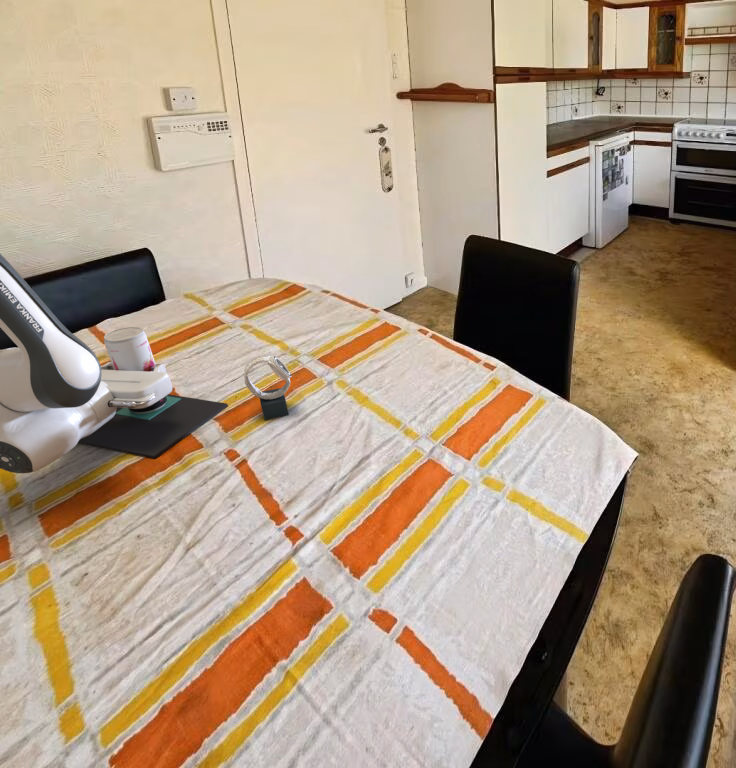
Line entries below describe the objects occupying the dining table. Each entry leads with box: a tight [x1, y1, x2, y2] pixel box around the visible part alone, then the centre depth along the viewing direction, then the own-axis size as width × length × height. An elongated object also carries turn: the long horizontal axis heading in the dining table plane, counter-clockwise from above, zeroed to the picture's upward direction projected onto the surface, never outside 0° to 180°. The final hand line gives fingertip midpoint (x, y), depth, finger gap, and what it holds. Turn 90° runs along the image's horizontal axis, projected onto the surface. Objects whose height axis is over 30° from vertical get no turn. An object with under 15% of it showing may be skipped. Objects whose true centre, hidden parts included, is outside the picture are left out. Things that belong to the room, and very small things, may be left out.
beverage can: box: [103, 326, 167, 414], centre depth 115 cm, size 6×7×15 cm
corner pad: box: [115, 396, 181, 420], centre depth 118 cm, size 8×8×1 cm
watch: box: [243, 355, 292, 421], centre depth 115 cm, size 6×8×11 cm
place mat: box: [76, 393, 229, 460], centre depth 114 cm, size 20×18×1 cm
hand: (138, 366), depth 115 cm, fingers open, 8 cm apart
